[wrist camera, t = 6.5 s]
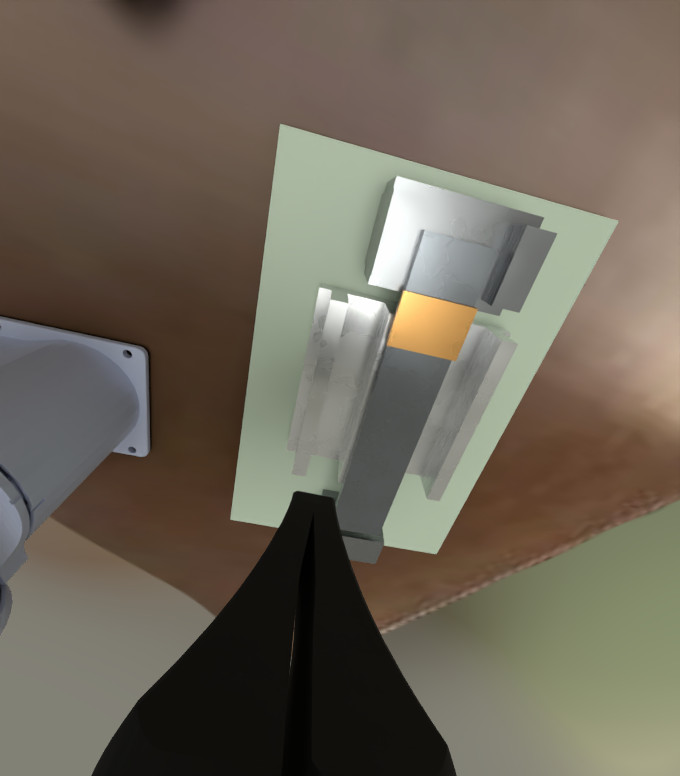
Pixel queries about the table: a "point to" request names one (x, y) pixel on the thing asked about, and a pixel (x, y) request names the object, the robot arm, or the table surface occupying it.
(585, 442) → the table surface
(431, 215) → the hinge and catch
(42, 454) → the robot arm
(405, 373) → the bar
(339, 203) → the pale green board
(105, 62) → the table surface
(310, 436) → the heat sink
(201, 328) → the table surface
